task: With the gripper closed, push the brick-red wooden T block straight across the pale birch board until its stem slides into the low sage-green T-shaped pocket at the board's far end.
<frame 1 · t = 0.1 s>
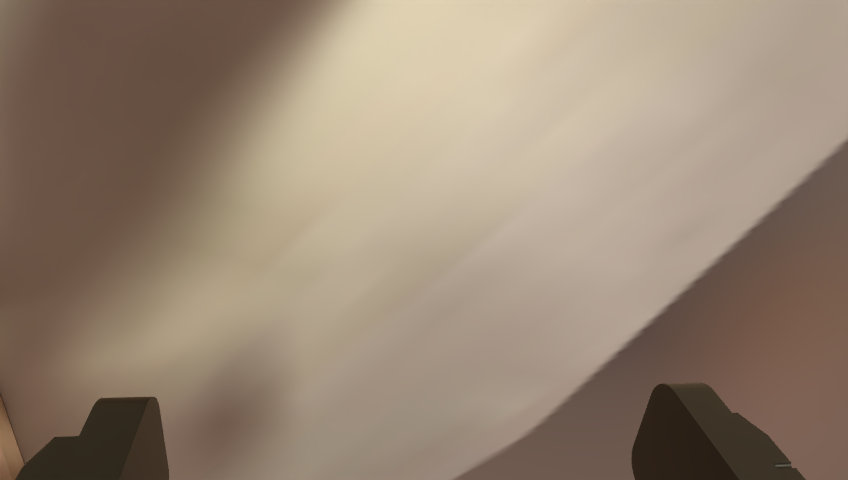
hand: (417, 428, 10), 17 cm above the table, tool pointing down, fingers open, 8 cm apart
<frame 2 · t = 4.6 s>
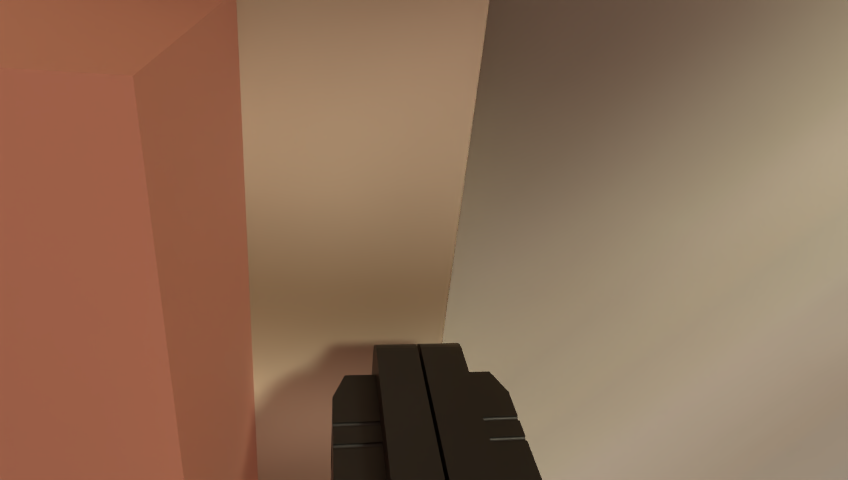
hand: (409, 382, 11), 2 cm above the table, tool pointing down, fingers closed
t block: (134, 346, 11), point 1 cm above the table, touching board, gripper
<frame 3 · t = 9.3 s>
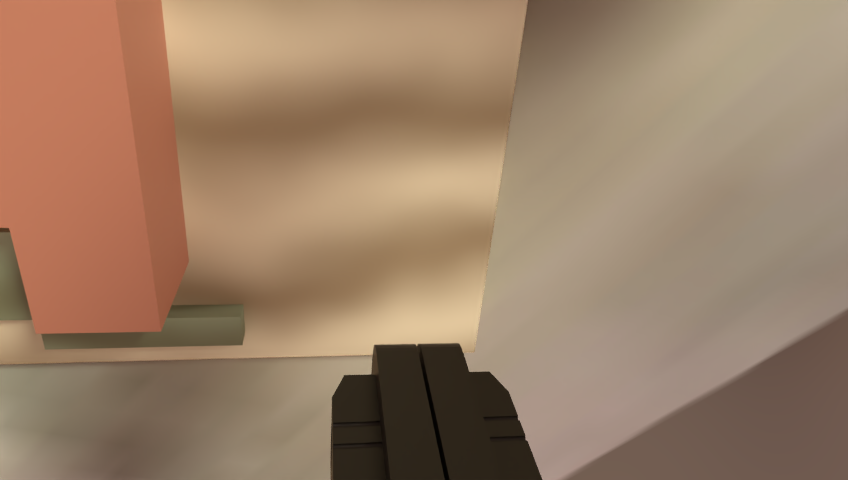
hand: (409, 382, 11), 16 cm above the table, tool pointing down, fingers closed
board: (154, 92, 23), on the table
t block: (117, 121, 22), point 1 cm above the table, touching board
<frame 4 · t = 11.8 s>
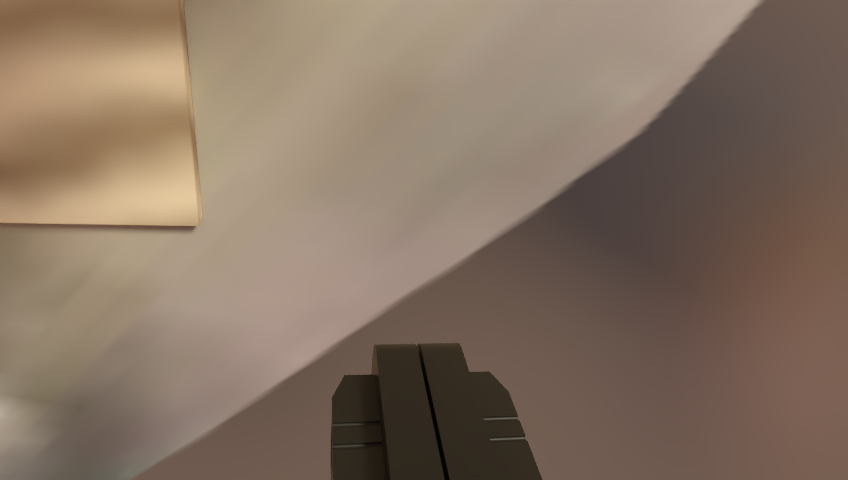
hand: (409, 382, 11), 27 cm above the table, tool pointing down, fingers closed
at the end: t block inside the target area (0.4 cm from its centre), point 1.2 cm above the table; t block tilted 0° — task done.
